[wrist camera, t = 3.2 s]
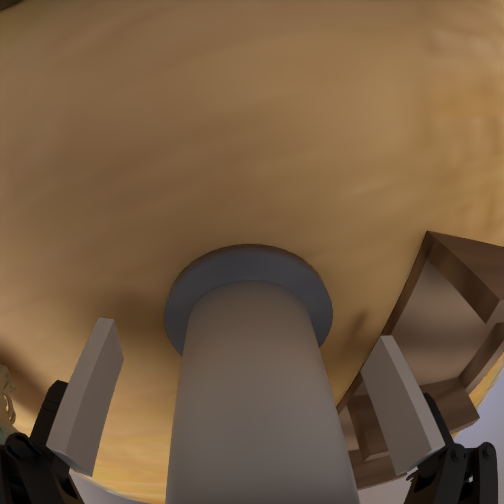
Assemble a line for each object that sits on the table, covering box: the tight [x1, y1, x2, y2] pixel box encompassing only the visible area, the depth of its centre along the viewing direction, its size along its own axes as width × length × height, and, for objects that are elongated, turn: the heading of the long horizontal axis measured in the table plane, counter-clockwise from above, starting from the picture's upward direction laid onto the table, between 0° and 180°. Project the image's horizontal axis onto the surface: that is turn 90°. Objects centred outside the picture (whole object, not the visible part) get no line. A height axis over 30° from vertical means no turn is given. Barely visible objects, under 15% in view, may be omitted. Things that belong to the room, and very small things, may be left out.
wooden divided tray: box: [336, 231, 504, 491], centre depth 17 cm, size 27×14×6 cm, turn 172°
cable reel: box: [164, 244, 360, 504], centre depth 10 cm, size 8×8×12 cm
